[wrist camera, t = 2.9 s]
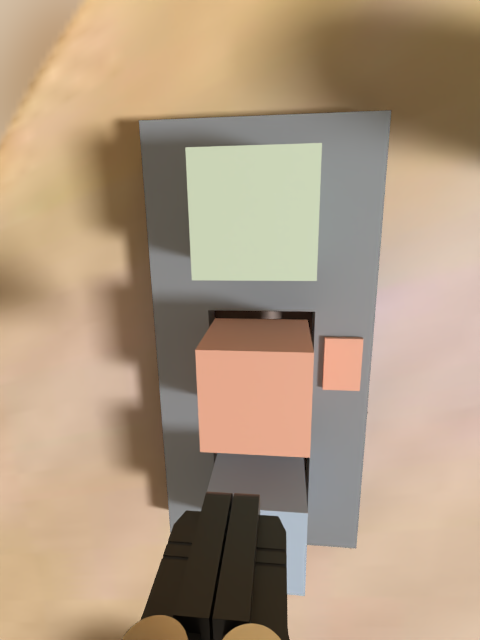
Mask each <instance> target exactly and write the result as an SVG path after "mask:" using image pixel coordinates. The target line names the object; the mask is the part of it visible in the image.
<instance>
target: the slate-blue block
mask: <svg viewBox="0 0 480 640" xmlns="http://www.w3.org/2000/svg"><path fill="white" fill-rule="evenodd" d="M207 492H224V493H233V496H234V493H243V494H260V515H269V516H279V518H280V520H281V522H282V524H283V526H284V528H285V530H286V549H287V550H286V553H287V594H289V595H300V596H305V578H306V551H307V525H308V507H307V494H306V480H305V466H304V457H286V456H267V455H248V454H228V453H217V456H216V460H215V464H214V467H213V471H212V475H211V478H210V482H209V486H208V489H207Z"/></svg>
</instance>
